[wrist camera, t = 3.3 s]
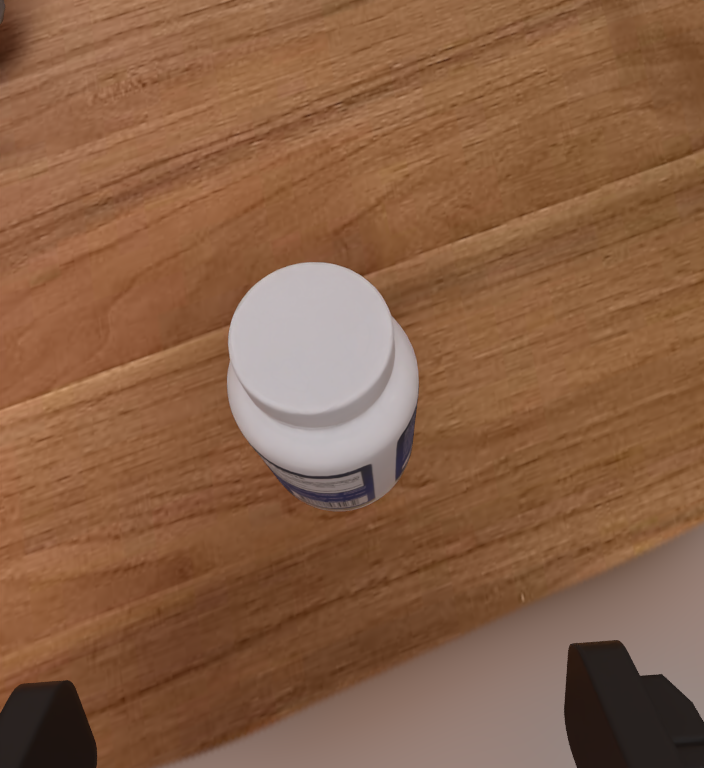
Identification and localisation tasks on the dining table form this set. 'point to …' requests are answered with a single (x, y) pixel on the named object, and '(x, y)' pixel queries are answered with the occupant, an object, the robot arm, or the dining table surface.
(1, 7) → the light bulb
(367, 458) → the pill bottle
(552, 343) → the dining table surface
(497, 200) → the dining table surface
